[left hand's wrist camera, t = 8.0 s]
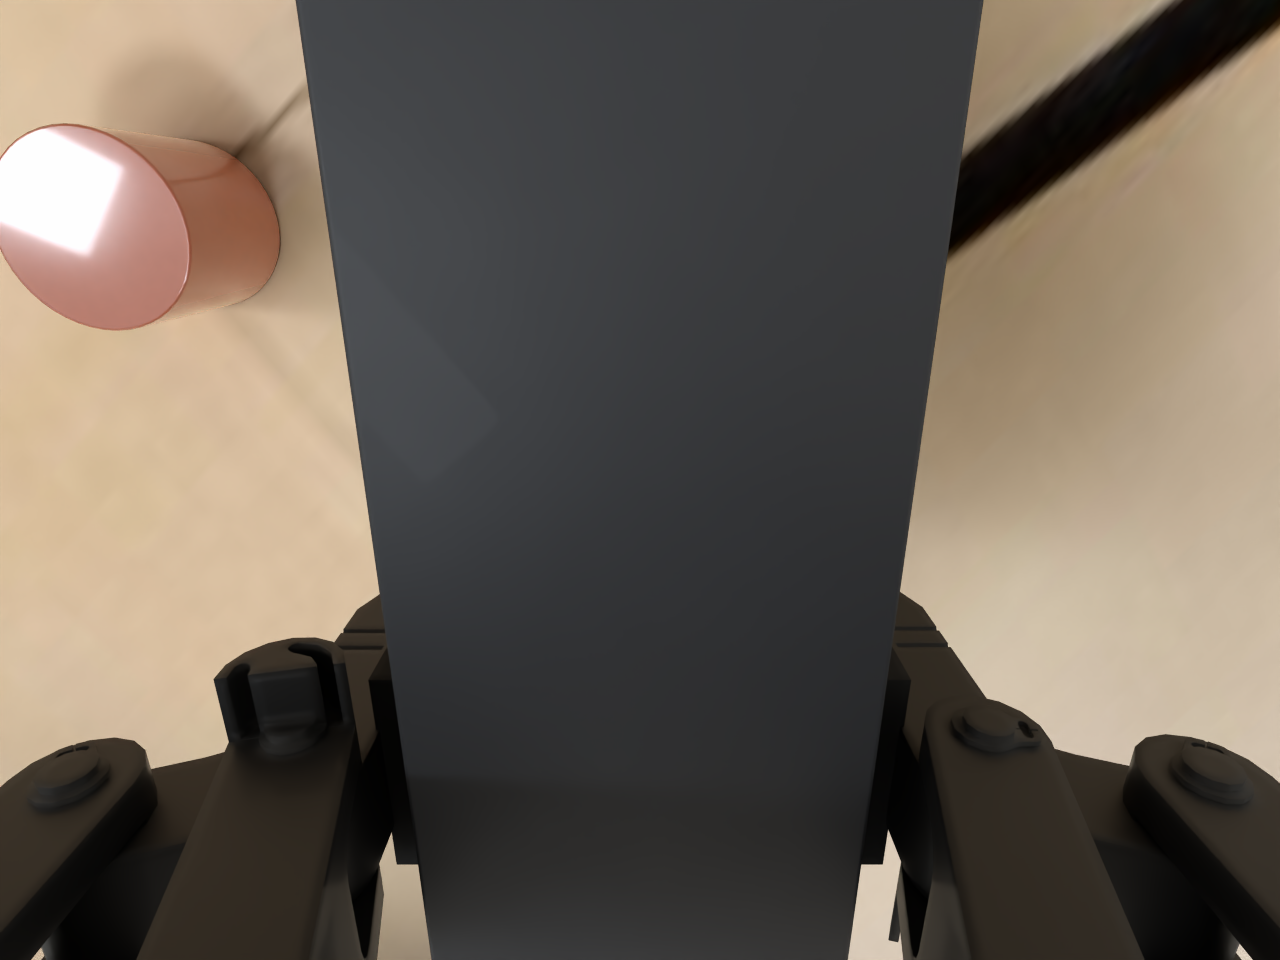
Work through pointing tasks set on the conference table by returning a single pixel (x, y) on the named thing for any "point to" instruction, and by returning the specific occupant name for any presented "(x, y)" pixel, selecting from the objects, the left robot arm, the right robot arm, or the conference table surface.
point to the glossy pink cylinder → (132, 225)
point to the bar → (639, 440)
